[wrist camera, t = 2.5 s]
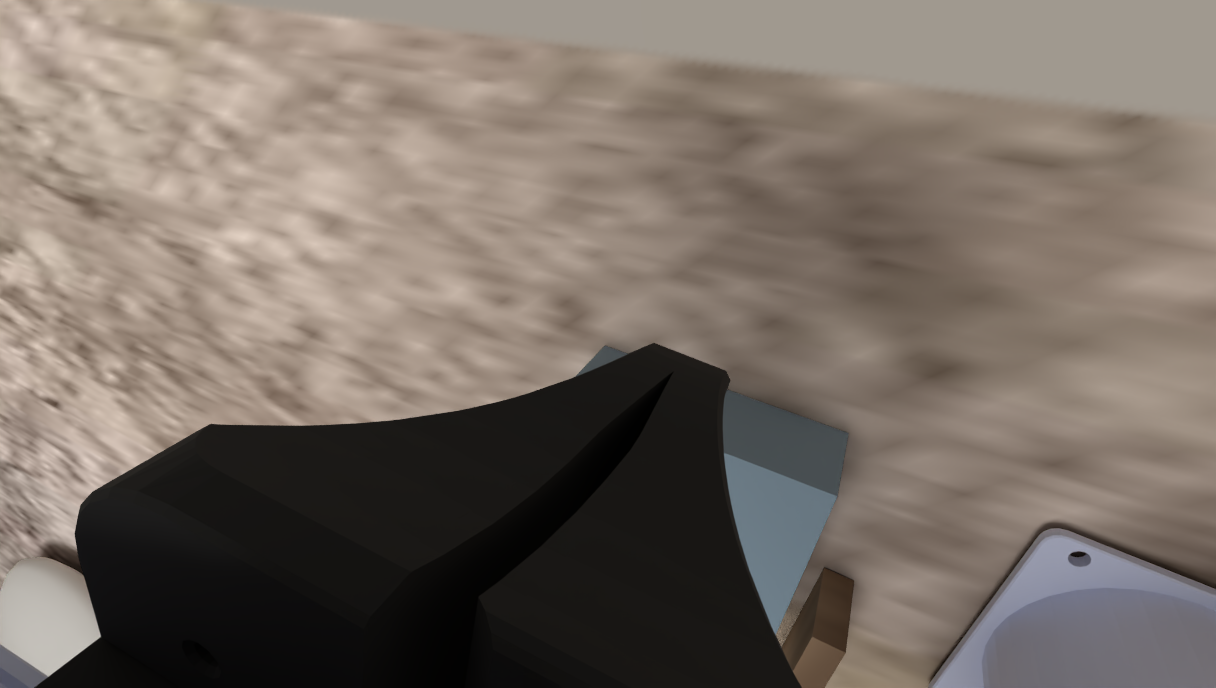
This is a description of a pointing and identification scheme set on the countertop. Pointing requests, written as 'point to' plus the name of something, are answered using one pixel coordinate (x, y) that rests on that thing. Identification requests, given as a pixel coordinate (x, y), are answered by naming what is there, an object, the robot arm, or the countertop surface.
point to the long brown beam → (820, 631)
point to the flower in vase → (46, 613)
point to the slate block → (774, 487)
